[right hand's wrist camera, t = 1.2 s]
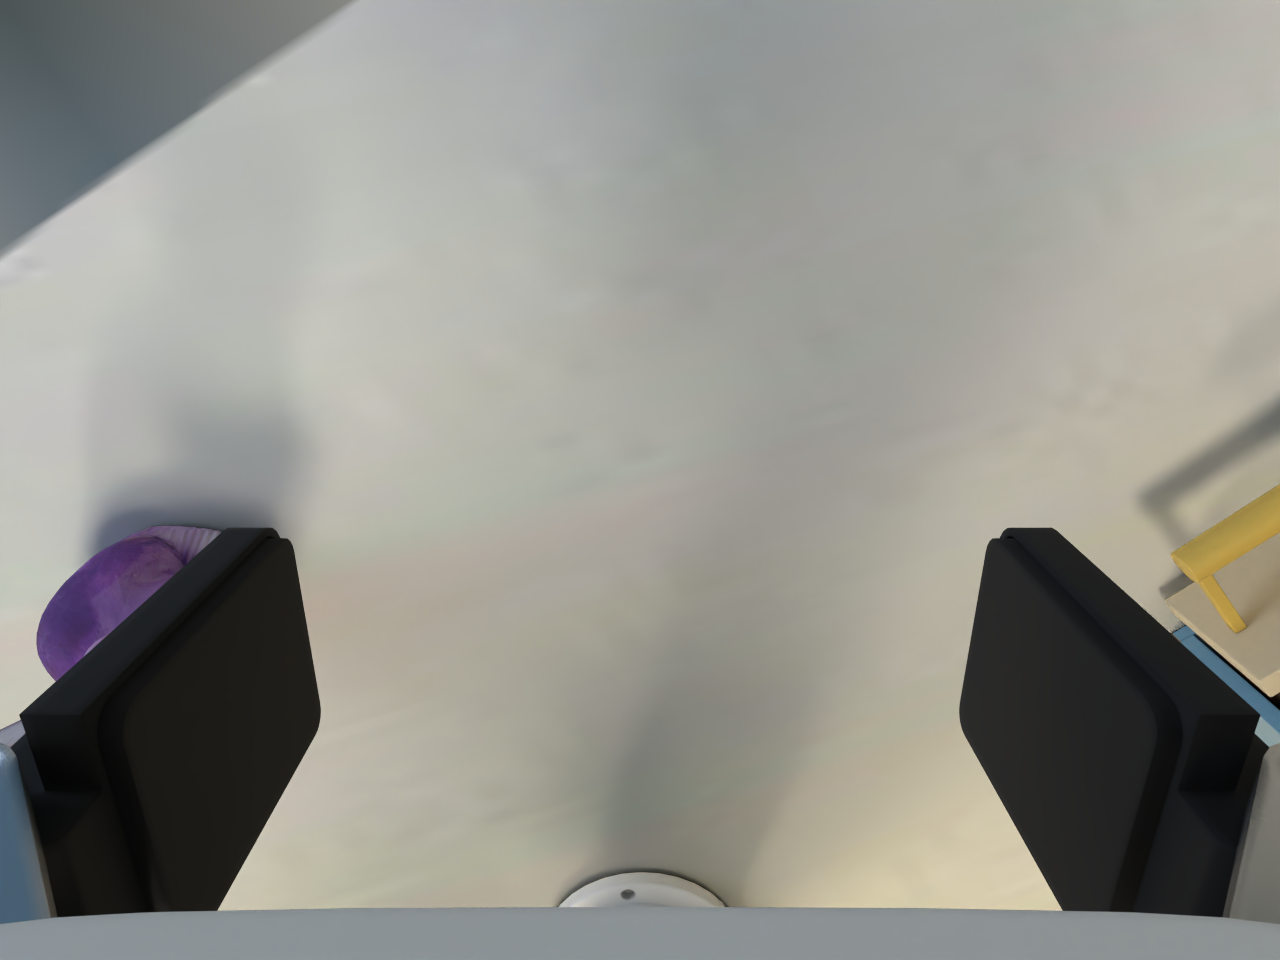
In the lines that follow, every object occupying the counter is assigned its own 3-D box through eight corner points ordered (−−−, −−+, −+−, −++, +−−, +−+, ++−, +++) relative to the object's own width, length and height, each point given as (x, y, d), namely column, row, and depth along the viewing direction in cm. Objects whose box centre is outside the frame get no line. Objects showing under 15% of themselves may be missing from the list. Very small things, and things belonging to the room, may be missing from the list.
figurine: (326, 560, 43) (177, 753, 29) (237, 690, 46) (65, 921, 32) (159, 460, 41) (-86, 616, 27) (78, 603, 44) (-180, 809, 30)
